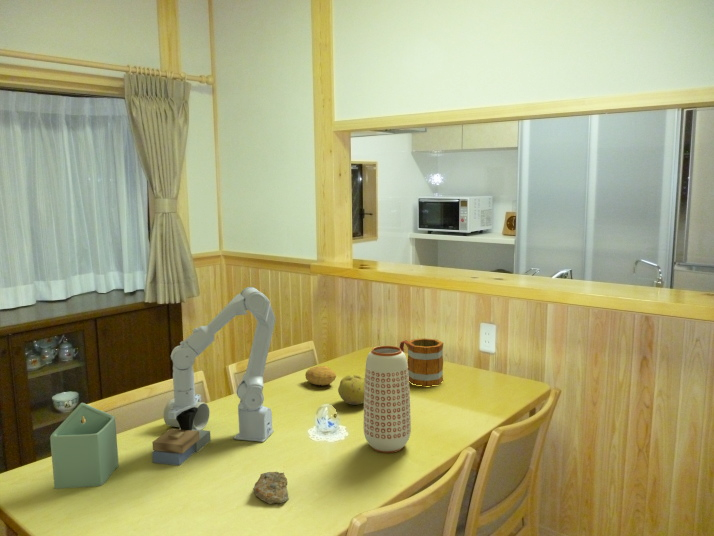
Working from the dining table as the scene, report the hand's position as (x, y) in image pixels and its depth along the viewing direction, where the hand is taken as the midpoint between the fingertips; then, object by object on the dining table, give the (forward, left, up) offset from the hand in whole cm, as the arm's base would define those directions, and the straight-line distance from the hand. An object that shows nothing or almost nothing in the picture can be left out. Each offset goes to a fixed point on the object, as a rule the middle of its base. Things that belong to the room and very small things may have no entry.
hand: (186, 433), depth 167 cm
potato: (-22, -59, -4) cm, 63 cm away
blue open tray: (0, +7, -4) cm, 8 cm away
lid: (0, +6, -1) cm, 6 cm away
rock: (-34, +20, -4) cm, 40 cm away
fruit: (-39, -42, -4) cm, 57 cm away
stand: (0, -1, -4) cm, 4 cm away
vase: (-56, -12, -4) cm, 57 cm away
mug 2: (-57, -72, -4) cm, 92 cm away
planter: (+13, +23, -4) cm, 27 cm away
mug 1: (+12, -15, 0) cm, 19 cm away
